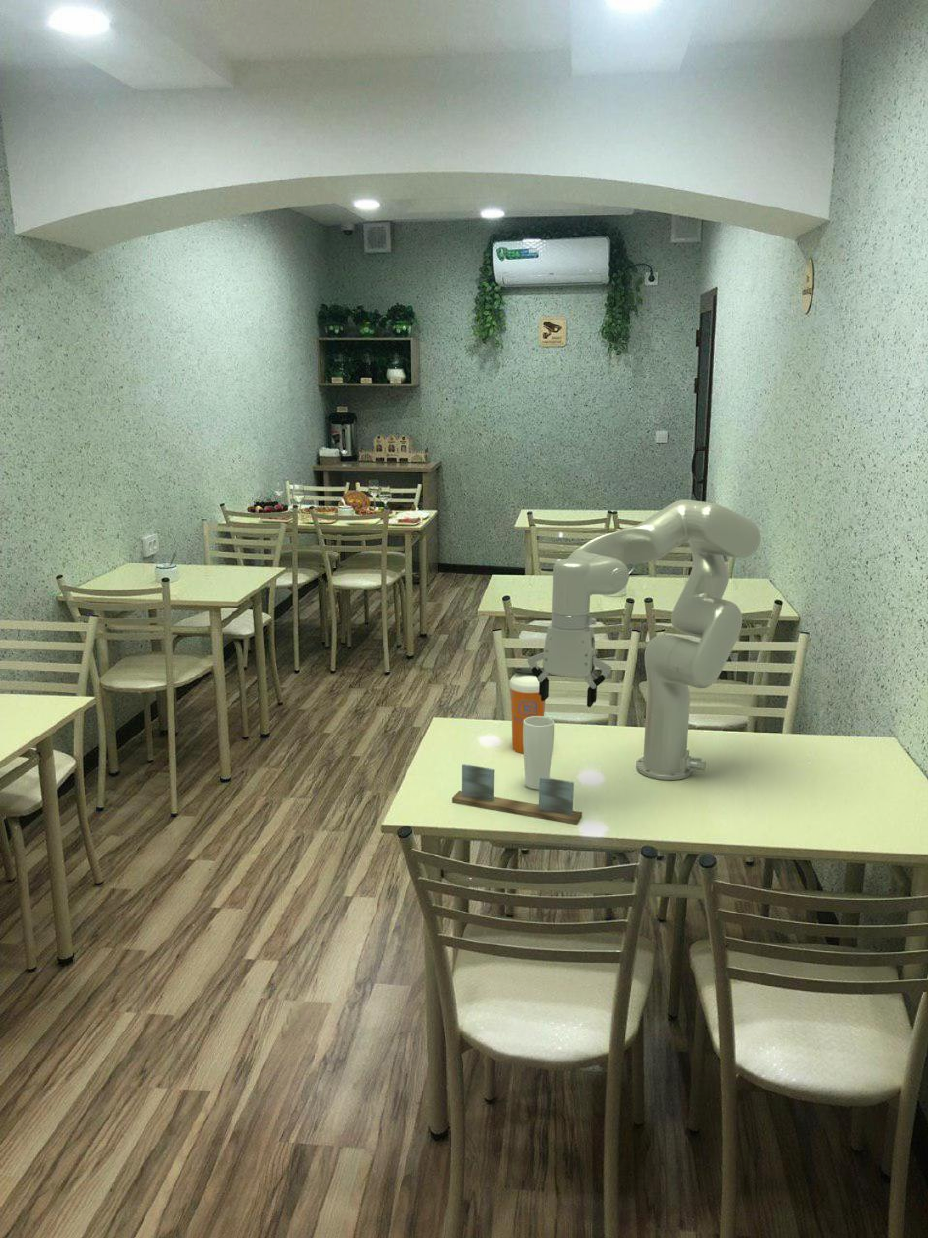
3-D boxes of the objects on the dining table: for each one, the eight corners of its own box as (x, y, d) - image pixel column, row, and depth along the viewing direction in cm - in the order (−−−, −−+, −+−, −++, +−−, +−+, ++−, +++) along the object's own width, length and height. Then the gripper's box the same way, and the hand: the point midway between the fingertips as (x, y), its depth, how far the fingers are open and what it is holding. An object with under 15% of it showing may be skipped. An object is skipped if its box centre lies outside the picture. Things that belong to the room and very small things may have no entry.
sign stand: (581, 816, 191) (583, 780, 189) (576, 825, 187) (578, 787, 186) (459, 795, 201) (459, 760, 199) (452, 802, 197) (452, 766, 195)
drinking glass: (550, 793, 202) (552, 727, 198) (519, 790, 203) (521, 725, 200) (554, 781, 209) (556, 717, 205) (523, 778, 210) (525, 714, 206)
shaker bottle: (506, 742, 231) (507, 664, 226) (541, 741, 232) (543, 663, 227) (511, 756, 222) (513, 675, 217) (548, 755, 223) (551, 674, 218)
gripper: (617, 621, 188) (613, 702, 192) (534, 613, 195) (532, 691, 199) (608, 629, 182) (604, 713, 186) (523, 620, 188) (521, 702, 192)
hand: (567, 702), depth 192 cm, fingers open, 9 cm apart
